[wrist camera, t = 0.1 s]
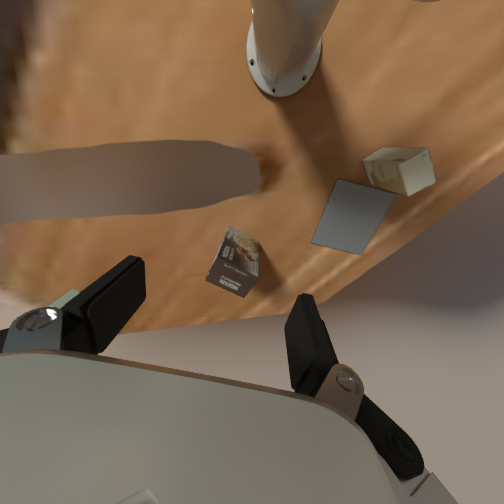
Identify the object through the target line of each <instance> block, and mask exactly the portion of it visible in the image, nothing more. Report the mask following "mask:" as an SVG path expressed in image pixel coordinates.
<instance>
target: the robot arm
mask: <svg viewBox="0 0 504 504" xmlns="http://www.w3.org/2000/svg"><path fill="white" fill-rule="evenodd" d="M338 1H339V0H251V5H252V18H253V20H252V23H251V25H250V28H249V32H248V36H247V44H246V56H247V63H248V67H249V71H250V74H251V76H252V78H253V80H254V82H255V83H256V85H257V86H258V87H259V88H260V89H261V90H262V91H263V92H264V93H266V94H268V95H270V96H273V97H280V98H281V97H287V96H290V95H292V94H294V93H296V92H297V91H299V90H300V89H301V88H302V87H303V86H304V85H305V84H306V83H307V82H308V80H309V79H310V77H311V76H312V74H313V72H314V70H315V68H316V66H317V63H318V60H319V56H320V50H321V36H322V34H323V32H324V30H325V28H326V26H327V24H328V22H329V20H330V18H331V16H332V14H333V12H334V10H335V8H336V6H337V3H338ZM414 1H419V2H436V1H440V0H414ZM251 63H254V65H253V66H251ZM302 78H305V80H304V81H303V80H302ZM273 90H275V92H274V93H273ZM145 298H146V284H145V263H144V261H143V260H142V259H141V258H140V257H136V256H132V255H129V256H128V257H126V258H125V259H124V260H122V261H121V262H120V263H118V264H117V265H116V266H114V267H113V268H112V269H110V270H109V271H108V272H107V273H105V274H104V275H103V276H101V277H100V278H99V279H97V280H96V281H95V282H93V283H92V284H91V285H89V286H88V287H87V288H85V289H84V290H83V291H82V292H80V293H79V294H78V295H76V296H75V297H74V298H72V299H71V300H70V301H68V302H67V303H66V304H65V305H64V306H63V307H62V308H60V309H59V308H57V307H41V308H37V309H33V310H31V311H28V312H26V313H24V314H22V315H21V316H19V317H17V318H16V319H15V320H14V321H13V322H12V324H11V325H10V328H8V329H4V330H0V504H458V503H457V502H456V500H455V499H454V498H453V497H452V495H451V494H450V493H449V492H448V490H447V489H446V488H445V487H444V485H443V484H442V483H441V482H440V481H439V479H438V478H437V477H436V476H435V474H434V473H433V472H431V473H429V472H428V471H427V469H426V468H425V467H424V461H423V458H422V455H421V453H420V451H419V449H418V447H417V446H416V444H415V443H414V441H413V440H412V439H411V438H410V437H409V436H408V434H407V433H406V432H405V431H404V430H402V428H400V427H399V426H398V425H397V424H396V423H395V422H394V421H393V420H392V419H391V418H390V417H389V416H387V415H386V414H385V413H384V412H383V411H382V410H381V409H380V408H379V407H378V406H377V405H376V404H374V403H373V402H372V401H371V400H370V399H369V398H368V397H367V396H366V395H365V394H364V386H363V383H362V381H361V379H360V378H359V376H358V375H357V374H356V373H355V372H354V371H353V370H352V369H351V368H349V367H348V366H346V365H344V364H339V362H338V360H337V357H336V354H335V351H334V349H333V346H332V343H331V340H330V338H329V335H328V332H327V329H326V326H325V323H324V321H323V320H322V319H321V318H320V315H319V312H318V310H317V306H316V304H315V301H314V298H313V296H312V295H310V294H306V293H302V294H301V295H298V297H297V299H296V302H295V304H294V306H293V308H292V310H291V313H290V315H289V317H288V320H287V322H286V324H285V329H284V330H285V338H286V346H287V355H288V364H289V372H290V380H291V387H292V389H294V390H295V392H291V391H286V390H281V389H276V388H272V387H267V386H262V385H256V384H251V383H246V382H241V381H236V380H230V379H225V378H220V377H215V376H210V375H204V374H199V373H193V372H188V371H183V370H178V369H172V368H167V367H161V366H155V365H150V364H145V363H139V362H134V361H128V360H123V359H117V358H112V357H106V356H99V355H98V353H102V352H103V351H104V350H105V349H106V348H107V346H108V345H109V344H110V343H111V341H112V340H113V339H114V338H115V337H116V335H117V334H118V333H119V332H120V330H121V329H122V328H123V327H124V325H125V324H126V323H127V322H128V320H129V319H130V318H131V317H132V316H133V314H134V313H135V312H136V311H137V309H138V308H139V307H140V306H141V304H142V303H143V302H144V300H145Z"/></svg>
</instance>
